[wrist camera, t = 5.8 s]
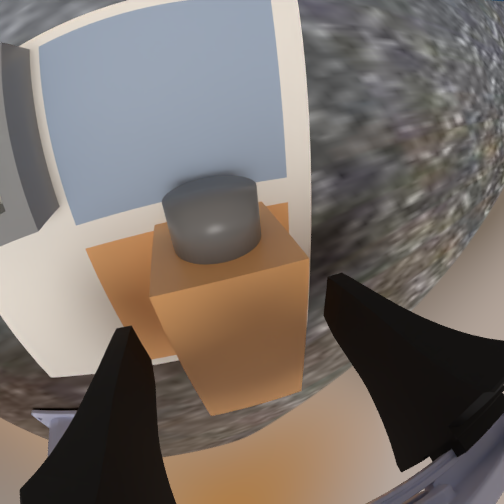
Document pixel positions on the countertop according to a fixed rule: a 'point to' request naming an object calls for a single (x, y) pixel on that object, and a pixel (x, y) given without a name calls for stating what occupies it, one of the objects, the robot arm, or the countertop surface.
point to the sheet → (149, 157)
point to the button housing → (21, 152)
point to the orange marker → (230, 293)
